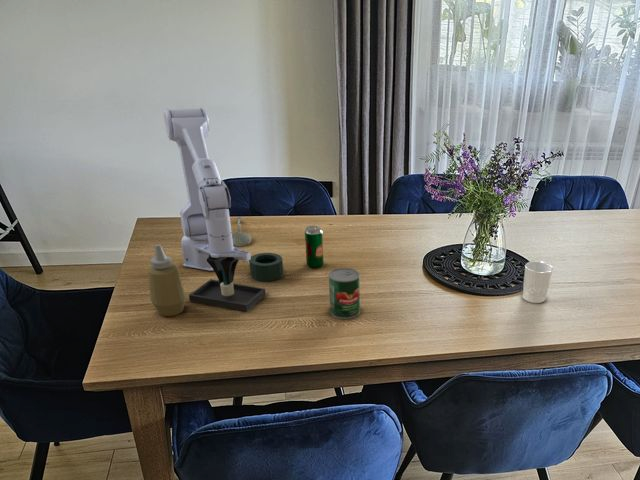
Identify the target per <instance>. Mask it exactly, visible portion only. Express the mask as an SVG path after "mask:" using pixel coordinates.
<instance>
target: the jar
mask: <svg viewBox="0 0 640 480" xmlns="http://www.w3.org/2000/svg"><path fill="white" fill-rule="evenodd" d="M250 257H251V259H250V260H249V261H248V263H249V273H250V277H251V278H252V279H253V280H255V281H258V282H267V283H268V282H274V281H275V282H276V281H278V280H280V279H281V278H283V276H284V261H283V257H282V256H281V255H280V254H277V253H274V252H260V253H256V254H252V256H250Z"/></svg>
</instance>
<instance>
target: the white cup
mask: <svg viewBox="0 0 640 480" xmlns="http://www.w3.org/2000/svg"><path fill="white" fill-rule="evenodd" d="M553 270H554V268H553V266H552V265H551V264H549V263H547V262H545V261H539V260H537V261H536V260H532V261H528V262H526V263H525V264H524V274H523V285H522V286H523V287H522V289H523V292H522V299H524V300H525V301H526V302H528V303H533V304H540V303H543V302H546V298H547V295H548V292H549V287H550V283H551V278H552V274H553Z"/></svg>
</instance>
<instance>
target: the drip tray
mask: <svg viewBox="0 0 640 480" xmlns="http://www.w3.org/2000/svg"><path fill="white" fill-rule="evenodd" d="M232 283H233V286H234V294H233V295H231V296H224V295H222V293H221V286H220V284H221V283H220V282H219V280H217V279H212V278H210V279H209V280H207V281H206V282H205V283H203V284H202V285H200V286H199V287H197V288H196V289H195V290H193V291H192V292H191V293H189V294H188V297H189V298H188V299H189V302H190V303H194V304H195V303H197V304H202V305H207V306H213V307H217V308H223V309H229V310H234V311H240V312H246V313H248V312H249V311H250V310H251V309H253V307H254V306H256V305H257V304H258V303H259V302H260V301H261V300H262V299H264V298H265V297H266V296H267V295H266V293H267V292H266V288H263V287H257V286H251V285H246V284H240V283H235V282H232Z"/></svg>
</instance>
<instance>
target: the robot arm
mask: <svg viewBox="0 0 640 480" xmlns="http://www.w3.org/2000/svg"><path fill="white" fill-rule="evenodd" d="M163 120H164V124H165V129H166V135H167V137H168V140H169V141H171V142H175V143H176V145H177V147H178V149H179V156H180V161H181V166H182V171H183V177H184V182H185V188H186V194H187V198H188V199H187V200H188V202H187V203H186V204H185V205H184V206H183V207H181V209H180V211H179V215H180V225H181V229H182V233H183V236H182V238H181V240H180V241H181V242H180V247H181V254H182V257H183V264H182V266H183V267H184V268H189V269H190V268H191V269H195V270H202V271H203V270H204V271H209V272H214V273H215V275H216V277H217V279H218V281H219V282H220V283H222V282H223V277H222V269H224V272H225V277H226V282H227V284H230V283H234V279H235V271H236V268H237V265H238V263H239V261H243V262H245V263H249V260H250V259H251V257H252V256H251V252H249V251H245V250H243V249H240V248H237V247H235V246H234V245H233V239H232V234H233V233H232V232H233V231H232V224H231V217H230V210H229V209H231V207H232V202H231V195H230V191H229V188H228V186H227V184H226V183H225V181H224V180H222V178H221V175H220V171H219V169H218V166H217V164H216V162H215V161H214V160H213V159H210V157H209V152H208V148H207V147H208V146H207V143H206V138H207V137H208V136H209V131H210V120H209V117H208V113H207V111H206V110H205V109H204V108H203V107H200V108H181V109H180V108H178V109H177V108H176V109H168V108H166V109H165V110H164V111H163Z"/></svg>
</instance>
